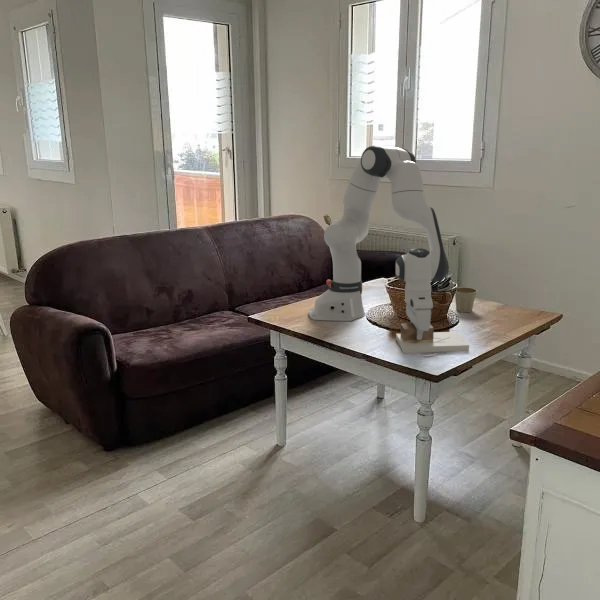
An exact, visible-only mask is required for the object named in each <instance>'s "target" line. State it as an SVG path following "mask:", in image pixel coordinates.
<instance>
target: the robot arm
mask: <svg viewBox="0 0 600 600" xmlns="http://www.w3.org/2000/svg"><path fill="white" fill-rule="evenodd" d="M416 158H417V157H416V156H415V154H414V153H413V152H411V151H410V150H408V149H406V148H400V147H396V146H390V145H389V146H385V145H378V144H377V145H376V144H375V145H371V146H368V147H366V148H365V149H364V150H363V152H362V153H361V158H360V159H359V160H358V162H357V164H356V165H355V167H354V169H353V171H352V174H351V175H350V177H349V182H348V183H347V187H346V189H345V193H344V196H343V199H342V200H343V201H342V202H343V206H344V207H343V214H342V217H341V218H340V219H338V220H334V221H333V222H331V223H330V224H329V225H328V226H327V227H326V228H325V230H324V233H323V239H324V242H325V244H326V245H327V246H328V247H329V251H330V254H331V258H332V259H331V260H332V275H333V276H332V278H333V279H332V280H331V279H327V280H326V285H327V290H326V291H324V292H323V293H321V294H320V295H319V296H318V297H317V298H316V299H315V303H314V307H313V308H311V309H309V311H308V317H309V318H310V319H312V320H314V321H332V322H333V321H334V322H335V321H336V322H337V321H339V322H352V321H354V320H356V319H359V318H362V317H364V316H365V315H366V313H365V309H364V305H363V299H362V298H363V297H362V294H363V280H362V261H361V259H360V257H359V255H358V251H357V244H358V243H361V242H362V241H363V240H364V239H365V238H366V237H367V236H368V234H369V231H370V226H369V221H370V220H369V219H370V213H371V211H372V210H371V209H372V206H373V204H374V200H375V198H376V195H377V191H378V189H379V186H380V184H381V181H382V179H384V178H385V179H388V180H389V181H390V184H391V186H390V187H391V204H392V208H393V210H394V212H395V214H397V215H398V216H399V217H401V218H402V219H404V220H407V221H409V222H412V223H415V224H418V225H420V226H421V227H422V228H423V229H424V230H425V233H426V238H427V241H428V247H429V250H428V249H425V248H421V247H414V248H411V249H409V250H408V251H407V253H406V254H402V255H400V256H398V257H397V259H395V263H394V275H395V277H396V278H397V279H398V280H399V281H402V282H405V285H404V291H405V299H404V301H405V303H406V305H405V313H406V316H407V318H409V320H410V322H409V323H413V324H414V326H415V327H416V329H417V334H416V338H417V340H421V339H422V334H423V331H428V330H429V328H430V324H431V319H432V318H431V317H432V309H433V308H434V305H433V302H432V298H431V292H432V285H431V282H438V283H440V282H441V281H443V280H444V279H445V278H446V277H447V276H448V274H449V273H450V271H449V270H450V267H449V262H448V258H447V254H446V252H445V248H444V245H443V239H442V236H441V230H440V226H439V221H438V218H437V214H436V212H435V210H434V208H433V207H431V206H430V205H429V204H428V203H427V201H426V198H425V192H424V182H423V181H424V180H423V177H422V171H421V168H420V165H419V164H418V163H417V159H416Z"/></svg>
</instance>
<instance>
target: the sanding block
mask: <svg viewBox="0 0 600 600" xmlns="http://www.w3.org/2000/svg"><path fill="white" fill-rule="evenodd" d="M434 330H435V329H434V326H433V325H432V324H431V323H430V328H429V330H428V331H423V334H422V339H421V340H417V338H416V334H417V329H416V327H415V326H414V324H413V323H411V322H409V323H400V334H401V339H402V340H403V342H404V343H420V342H433V334H434V332H435V331H434Z"/></svg>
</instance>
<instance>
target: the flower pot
mask: <svg viewBox="0 0 600 600" xmlns="http://www.w3.org/2000/svg"><path fill="white" fill-rule="evenodd" d="M456 288H457V292H456V295H455V294H454V298H455V309H456V311H458V312H460V313H472V311H473V307H474V302H475V298H476V295H477V293H478V291H479V290H477V289H475V288H474V287H466V286H461V287H456Z"/></svg>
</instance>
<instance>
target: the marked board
mask: <svg viewBox="0 0 600 600" xmlns="http://www.w3.org/2000/svg"><path fill="white" fill-rule="evenodd" d="M395 340H396V342H397V343H398V345H399V347H400V348H401V350H402V352H403V354H413V353H414V354H416V353H419V354H420V353H443V352H445V353H446V352H447V353H448V352H469V350H470V344H469V343H468V341H466V340H465V339H464V337H463V336H462V335H461V334H460V333H459V332H458V331H440V332H439V331H438V332H435V331H434V334H433V342H420V343H404V342H403V340H402V339H401V333H395Z"/></svg>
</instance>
